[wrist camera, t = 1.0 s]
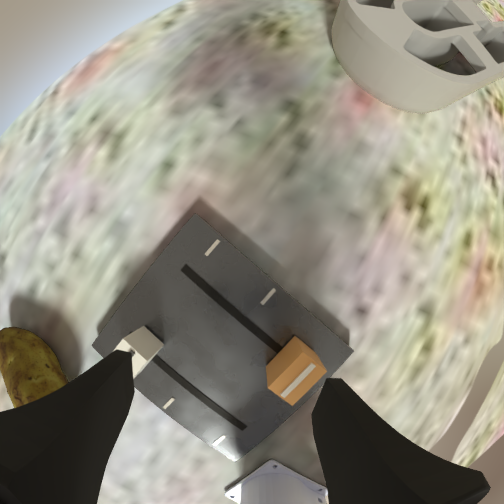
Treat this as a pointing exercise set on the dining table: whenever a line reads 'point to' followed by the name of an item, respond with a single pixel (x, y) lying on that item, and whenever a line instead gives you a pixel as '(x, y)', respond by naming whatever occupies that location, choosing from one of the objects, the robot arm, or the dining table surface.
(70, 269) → the dining table surface
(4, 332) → the potato
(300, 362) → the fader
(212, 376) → the console
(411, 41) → the grey compartment organizer
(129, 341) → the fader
